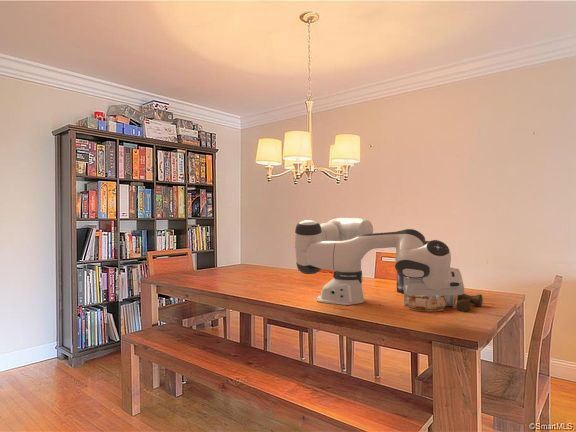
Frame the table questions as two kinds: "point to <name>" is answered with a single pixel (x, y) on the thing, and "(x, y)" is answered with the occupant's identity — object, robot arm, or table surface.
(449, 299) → the bracket
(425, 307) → the trinket box
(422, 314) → the table surface
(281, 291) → the table surface
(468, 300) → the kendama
